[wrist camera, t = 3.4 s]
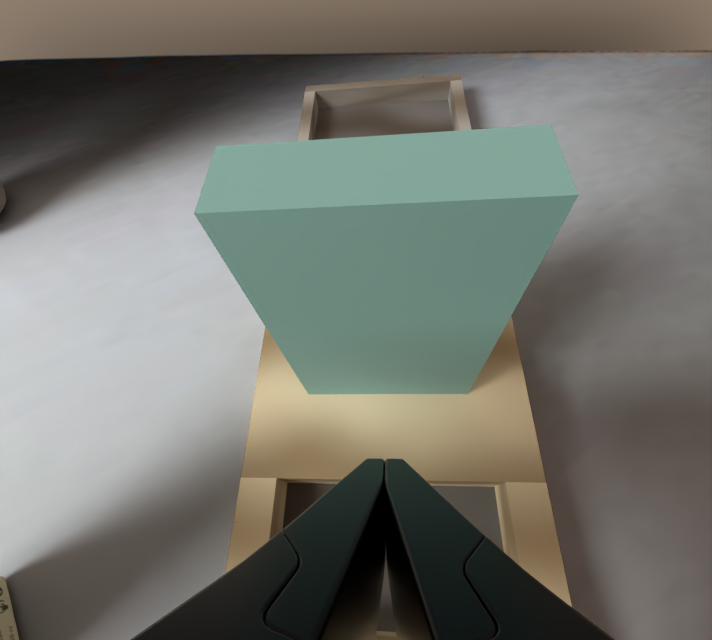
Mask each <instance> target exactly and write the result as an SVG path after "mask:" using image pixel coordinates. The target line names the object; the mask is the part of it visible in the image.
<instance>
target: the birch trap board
mask: <svg viewBox="0 0 712 640" xmlns="http://www.w3.org/2000/svg"><path fill="white" fill-rule="evenodd" d="M460 130H472V129H471V125H470V120H469V115H468V110H467V105H466V100H465V95H464V91H463V86H462V81H461V76H460V74H457V75H444V76H431V77H418V78H405V79H392V80H379V81H367V82H354V83H341V84H328V85H315V86H306V89H305V95H304V101H303V108H302V114H301V120H300V126H299V132H298V138H297V141H304V140H320V139H335V138H351V137H366V136H382V135H398V134H413V133H429V132H444V131H460ZM368 458H382V459H384V461H385V460H386V459H388V458H393V459H403V460H405V461H406V462H407V463H408V464H409V465H410V466H411V467H412V468H413V469H414V470H415V471H416V472H417V473H419V474H420V475H421V476H422V477H423V478H424V479H425V480H426V481H427V482H428V483H429V484H430V485H431V486H432V487H434V488H435V489H436V490H437V491H438V492H439V493H440V494H441V495H442V496H443V497H444V498H445V499H446V500H448V501H449V502H450V503H451V504H452V505H453V506H454V507H455V508H456V509H457V510H458V511H459V512H460V513H461V514H463V515H464V516H465V517H466V518H467V519H468V520H469V521H470V522H471V523H472V524H473V525H474V526H475V527H476V528H478V529H479V530H480V531H481V532H482V533H483V534H484V535H485V536H486V538H489V539H490V540H491V541H493V542H494V543H495V544H496V545H497V546H498V547H499V548H500V549H501V550H502V551H503V552H505V553H506V554H507V555H508V556H509V557H510V558H511V559H513V560H514V561H515V562H516V563H517V564H518V565H519V566H521V567H522V568H523V569H524V570H525V571H526V572H528V573H529V574H530V575H531V576H533V577H534V578H535V579H536V580H538V581H539V582H540V583H541V584H543V585H544V586H545V587H546V588H548V589H549V590H550V591H551V592H553V593H554V594H555V595H556V596H558V597H559V598H560V599H562V600H563V601H564V602H566V603H567V604H568V605H570V606H571V607H572V604H571V599H570V594H569V589H568V585H567V580H566V575H565V570H564V565H563V561H562V556H561V551H560V546H559V541H558V537H557V532H556V527H555V522H554V517H553V513H552V508H551V503H550V498H549V493H548V489H547V484H546V479H545V474H544V469H543V465H542V460H541V455H540V450H539V445H538V441H537V436H536V431H535V426H534V421H533V417H532V412H531V407H530V402H529V397H528V393H527V388H526V383H525V378H524V373H523V369H522V364H521V359H520V354H519V349H518V345H517V340H516V335H515V330H514V326H513V321H512V316H511V317H510V319H509V321H508V323H507V324H506V326H505V328H504V330H503V332H502V333H501V335H500V337H499V339H498V341H497V342H496V344H495V346H494V348H493V350H492V351H491V353H490V355H489V357H488V359H487V360H486V362H485V364H484V366H483V368H482V369H481V371H480V373H479V375H478V377H477V378H476V380H475V382H474V384H473V386H472V387H471V389H470V391H469V393H468V394H308V393H307V391H306V390H305V388H304V387H303V385H302V384H301V382H300V380H299V379H298V377H297V376H296V374H295V372H294V371H293V369H292V368H291V366H290V364H289V363H288V361H287V360H286V358H285V357H284V355H283V353H282V352H281V350H280V349H279V347H278V345H277V344H276V342H275V341H274V339H273V338H272V336H271V334H270V333H269V331H268V330H267V328H266V327H265V333H264V339H263V345H262V351H261V357H260V363H259V369H258V375H257V381H256V388H255V394H254V400H253V406H252V412H251V418H250V424H249V430H248V436H247V442H246V448H245V455H244V461H243V467H242V473H241V479H240V485H239V491H238V497H237V503H236V509H235V515H234V521H233V528H232V534H231V540H230V546H229V552H228V558H227V564H226V570H225V574H226V573H227V572H228V571H230V570H231V569H233V568H234V567H235V566H237V565H238V564H240V563H241V562H242V561H244V560H245V559H246V558H247V557H249V556H250V555H251V554H252V553H254V552H255V551H256V550H258V549H259V548H260V547H261V546H263V545H264V544H265V543H266V542H268V541H269V540H270V539H271V538H272V537H273V536H275V535H276V534H277V533H278V532H282V530H283V529H284V528H285V527H286V526H288V525H289V524H290V523H291V522H292V521H293V520H295V519H296V518H297V517H298V516H299V515H301V514H302V513H303V512H304V511H305V510H306V509H308V508H309V507H310V506H311V505H312V504H314V503H315V502H316V501H317V500H318V499H319V498H321V497H322V496H323V495H324V494H325V493H327V492H328V491H329V490H330V489H331V488H332V487H334V486H335V485H336V484H337V483H338V482H340V481H341V480H342V479H343V478H344V477H345V476H347V475H348V474H349V473H350V472H351V471H353V470H354V469H355V468H356V467H357V466H358V465H360V464H361V463H362V462H363V461H364V460H366V459H368ZM376 640H397V638H396V631H395V623H394V616H393V609H392V601H391V594H390V586H389V579H388V571H387V561H385V571H384V579H383V587H382V594H381V602H380V610H379V617H378V625H377V633H376Z"/></svg>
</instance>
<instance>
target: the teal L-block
mask: <svg viewBox="0 0 712 640" xmlns="http://www.w3.org/2000/svg"><path fill="white" fill-rule="evenodd" d="M577 197H578V192H577V190H576V187H575V184H574V182H573V179H572V176H571V174H570V171H569V169H568V166H567V163H566V161H565V158H564V155H563V153H562V150H561V148H560V145H559V142H558V140H557V137H556V134H555V132H554V129H553V127H552V125H537V126H522V127H506V128H491V129H475V130H460V131H444V132H429V133H413V134H398V135H382V136H366V137H351V138H335V139H320V140H304V141H289V142H273V143H258V144H242V145H227V146H216V148H215V151H214V154H213V157H212V160H211V164H210V167H209V170H208V173H207V176H206V179H205V182H204V185H203V188H202V191H201V194H200V197H199V200H198V203H197V206H196V209H195V212H194V214H195V215H196V217H197V219H198V220H199V222H200V223H201V225H202V227H203V228H204V230H205V231H206V233H207V235H208V236H209V238H210V239H211V241H212V242H213V244H214V246H215V247H216V249H217V250H218V252H219V254H220V255H221V257H222V258H223V260H224V261H225V263H226V265H227V266H228V268H229V269H230V271H231V273H232V274H233V276H234V277H235V279H236V280H237V282H238V284H239V285H240V287H241V288H242V290H243V292H244V293H245V295H246V296H247V298H248V300H249V301H250V303H251V304H252V306H253V307H254V309H255V311H256V312H257V314H258V315H259V317H260V319H261V320H262V322H263V323H264V325H265V326H266V328H267V330H268V331H269V333H270V334H271V336H272V338H273V339H274V341H275V342H276V344H277V345H278V347H279V349H280V350H281V352H282V353H283V355H284V357H285V358H286V360H287V361H288V363H289V364H290V366H291V368H292V369H293V371H294V372H295V374H296V376H297V377H298V379H299V380H300V382H301V384H302V385H303V387H304V388H305V390H306V391H307V393H308V394H468V393H469V391H470V389H471V387H472V386H473V384H474V382H475V380H476V378H477V377H478V375H479V373H480V371H481V369H482V368H483V366H484V364H485V362H486V360H487V359H488V357H489V355H490V353H491V351H492V350H493V348H494V346H495V344H496V342H497V341H498V339H499V337H500V335H501V333H502V332H503V330H504V328H505V326H506V324H507V323H508V321H509V319H510V317H511V315H512V314H513V312H514V310H515V308H516V306H517V305H518V303H519V301H520V299H521V297H522V296H523V294H524V292H525V290H526V288H527V287H528V285H529V283H530V281H531V280H532V278H533V276H534V274H535V272H536V271H537V269H538V267H539V265H540V263H541V262H542V260H543V258H544V256H545V254H546V253H547V251H548V249H549V247H550V245H551V244H552V242H553V240H554V238H555V236H556V235H557V233H558V231H559V229H560V227H561V226H562V224H563V222H564V220H565V218H566V217H567V215H568V213H569V211H570V209H571V208H572V206H573V204H574V202H575V200H576V199H577Z"/></svg>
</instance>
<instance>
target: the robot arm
mask: <svg viewBox="0 0 712 640" xmlns="http://www.w3.org/2000/svg"><path fill="white" fill-rule="evenodd" d="M385 561H387V571H388V579H389V586H390V594H391V601H392V609H393V616H394V623H395V631H396V638H397V640H614V639H613V638H611V637H610V636H609V635H607V634H606V633H605V632H604V631H602V630H601V629H600V628H598V627H597V626H596V625H594V624H593V623H592V622H590V621H589V620H588V619H587V618H585V617H584V616H583V615H581V614H580V613H579V612H577V611H576V610H575V609H573V608H572V607H571V606H570V605H568V604H567V603H566V602H564V601H563V600H562V599H560V598H559V597H558V596H556V595H555V594H554V593H553V592H551V591H550V590H549V589H548V588H546V587H545V586H544V585H543V584H541V583H540V582H539V581H538V580H536V579H535V578H534V577H533V576H531V575H530V574H529V573H528V572H526V571H525V570H524V569H523V568H522V567H521V566H519V565H518V564H517V563H516V562H515V561H514V560H513V559H511V558H510V557H509V556H508V555H507V554H506V553H505V552H503V551H502V550H501V549H500V548H499V547H498V546H497V545H496V544H495V543H494V542H493V541H491V540H490V539H489V538H486V536H485V535H484V534H483V533H482V532H481V531H480V530H479V529H478V528H476V527H475V526H474V525H473V524H472V523H471V522H470V521H469V520H468V519H467V518H466V517H465V516H464V515H463V514H461V513H460V512H459V511H458V510H457V509H456V508H455V507H454V506H453V505H452V504H451V503H450V502H449V501H448V500H446V499H445V498H444V497H443V496H442V495H441V494H440V493H439V492H438V491H437V490H436V489H435V488H434V487H432V486H431V485H430V484H429V483H428V482H427V481H426V480H425V479H424V478H423V477H422V476H421V475H420V474H419V473H417V472H416V471H415V470H414V469H413V468H412V467H411V466H410V465H409V464H408V463H407V462H406V461H405V460H403V459H393V458H388V459H386V460H385V461H384V459H382V458H368V459H366V460H364V461H363V462H362V463H361V464H360V465H358V466H357V467H356V468H355V469H354V470H353V471H351V472H350V473H349V474H348V475H347V476H345V477H344V478H343V479H342V480H341V481H340V482H338V483H337V484H336V485H335V486H334V487H332V488H331V489H330V490H329V491H328V492H327V493H325V494H324V495H323V496H322V497H321V498H319V499H318V500H317V501H316V502H315V503H314V504H312V505H311V506H310V507H309V508H308V509H306V510H305V511H304V512H303V513H302V514H301V515H299V516H298V517H297V518H296V519H295V520H293V521H292V522H291V523H290V524H289V525H288V526H286V527H285V528H284V529H283V530H282V532H278V533H277V534H276V535H275V536H273V537H272V538H271V539H270V540H269V541H268V542H266V543H265V544H264V545H263V546H261V547H260V548H259V549H258V550H256V551H255V552H254V553H252V554H251V555H250V556H249V557H247V558H246V559H245V560H244V561H242V562H241V563H240V564H238V565H237V566H235V567H234V568H233V569H231V570H230V571H228V572H227V573H226V574H224V575H223V576H222V577H220V578H219V579H217V580H216V581H215V582H213V583H212V584H210V585H209V586H207V587H206V588H204V589H203V590H202V591H200V592H199V593H197V594H196V595H194V596H193V597H191V598H190V599H189V600H187V601H186V602H184V603H183V604H181V605H180V606H178V607H177V608H175V609H174V610H173V611H171V612H170V613H168V614H167V615H165V616H164V617H162V618H161V619H160V620H158V621H157V622H155V623H154V624H152V625H151V626H149V627H148V628H147V629H145V630H144V631H142V632H141V633H139V634H138V635H136V636H135V637H134V638H132V639H131V640H376V633H377V625H378V617H379V610H380V602H381V594H382V587H383V579H384V571H385Z"/></svg>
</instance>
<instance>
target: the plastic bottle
mask: <svg viewBox="0 0 712 640" xmlns="http://www.w3.org/2000/svg"><path fill="white" fill-rule="evenodd" d="M5 203H6V195H5V191H4V188H3V184H2V183H1V181H0V213H1V211H2V210H3V208H4V206H5Z"/></svg>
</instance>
